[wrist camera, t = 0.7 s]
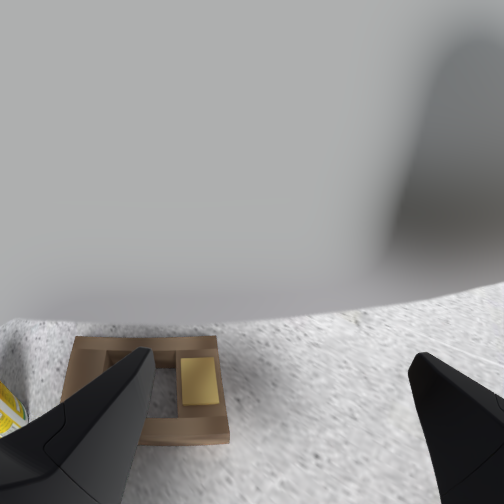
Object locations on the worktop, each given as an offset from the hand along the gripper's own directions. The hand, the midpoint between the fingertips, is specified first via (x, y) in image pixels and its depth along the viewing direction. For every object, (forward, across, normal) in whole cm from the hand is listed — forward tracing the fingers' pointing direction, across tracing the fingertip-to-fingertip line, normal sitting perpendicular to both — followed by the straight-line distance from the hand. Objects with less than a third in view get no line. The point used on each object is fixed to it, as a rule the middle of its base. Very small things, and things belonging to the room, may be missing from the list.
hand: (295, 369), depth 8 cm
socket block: (+9, +10, +14) cm, 20 cm away
